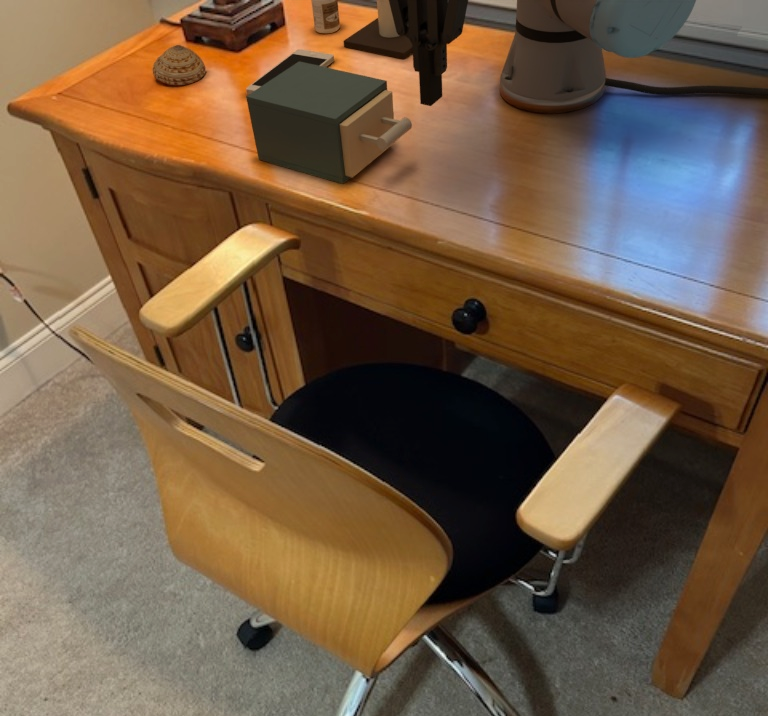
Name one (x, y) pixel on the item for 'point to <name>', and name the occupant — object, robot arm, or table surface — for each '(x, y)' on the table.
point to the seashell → (178, 66)
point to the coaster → (379, 42)
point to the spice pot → (386, 19)
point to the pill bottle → (326, 15)
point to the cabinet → (308, 117)
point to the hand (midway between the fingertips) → (431, 100)
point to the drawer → (370, 132)
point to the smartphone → (292, 59)
